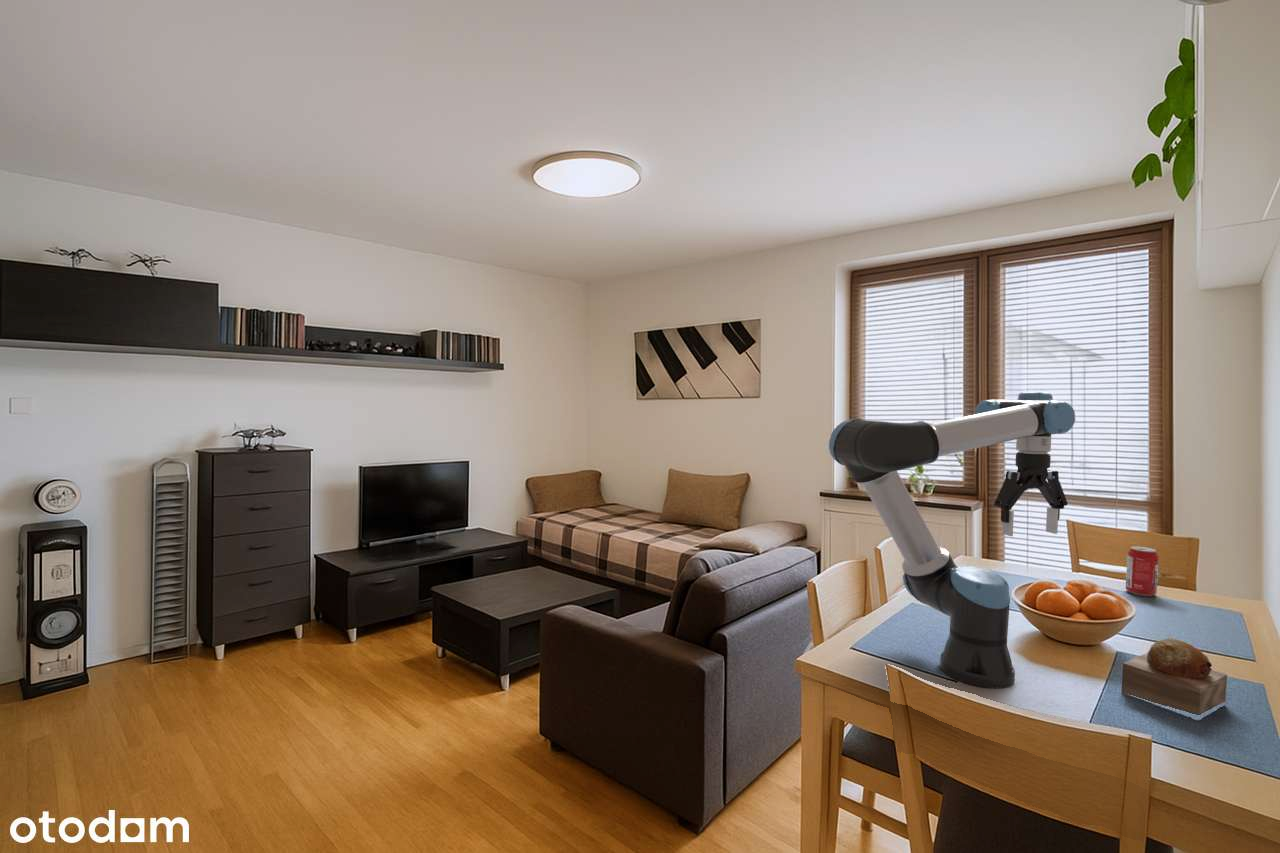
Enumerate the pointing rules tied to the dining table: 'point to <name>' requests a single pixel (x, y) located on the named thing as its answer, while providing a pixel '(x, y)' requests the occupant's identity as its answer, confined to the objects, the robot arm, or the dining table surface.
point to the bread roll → (1179, 659)
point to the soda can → (1142, 571)
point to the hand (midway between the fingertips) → (1029, 533)
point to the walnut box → (1173, 687)
